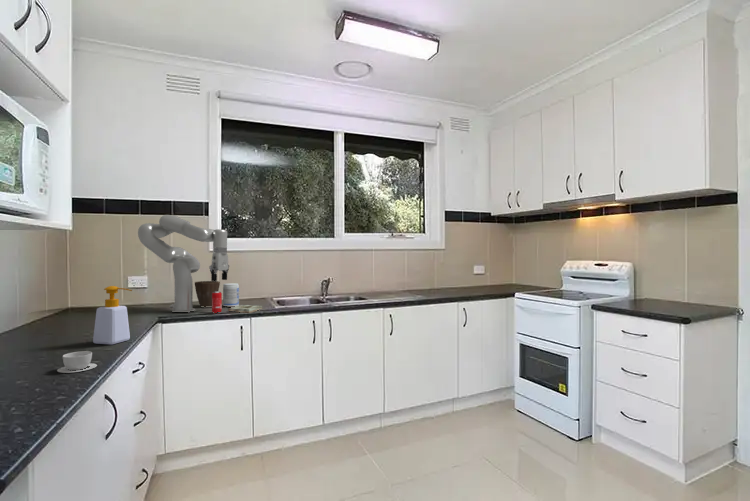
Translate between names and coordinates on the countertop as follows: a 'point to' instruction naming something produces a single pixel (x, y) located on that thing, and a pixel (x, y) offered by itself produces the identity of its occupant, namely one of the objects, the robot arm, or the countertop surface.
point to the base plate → (245, 308)
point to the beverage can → (216, 302)
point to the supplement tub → (231, 294)
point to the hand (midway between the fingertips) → (219, 280)
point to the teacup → (77, 362)
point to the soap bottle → (111, 321)
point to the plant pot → (206, 291)
